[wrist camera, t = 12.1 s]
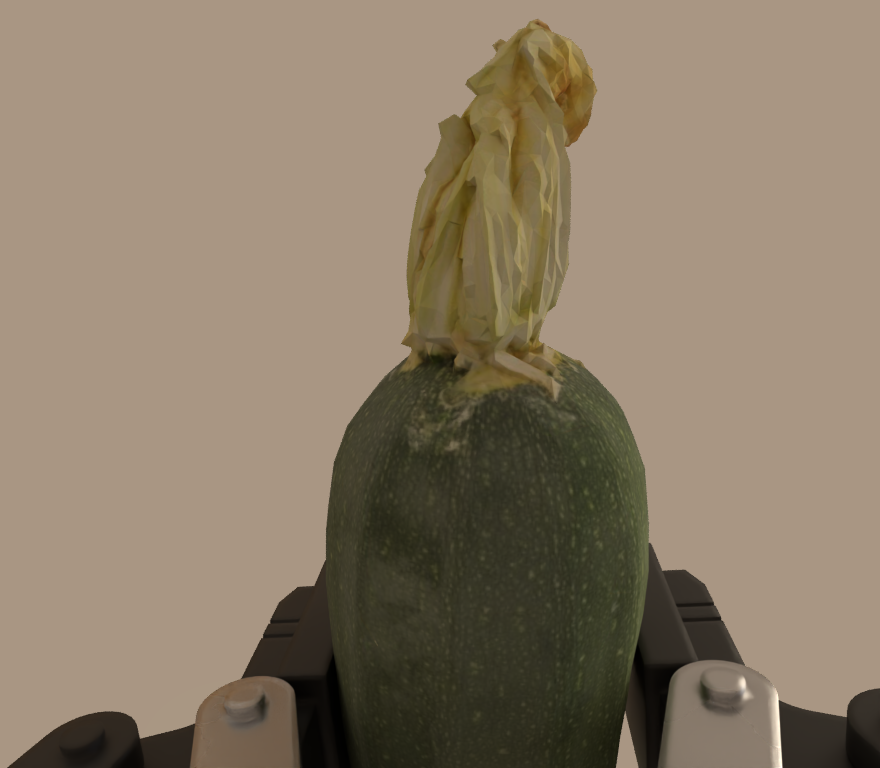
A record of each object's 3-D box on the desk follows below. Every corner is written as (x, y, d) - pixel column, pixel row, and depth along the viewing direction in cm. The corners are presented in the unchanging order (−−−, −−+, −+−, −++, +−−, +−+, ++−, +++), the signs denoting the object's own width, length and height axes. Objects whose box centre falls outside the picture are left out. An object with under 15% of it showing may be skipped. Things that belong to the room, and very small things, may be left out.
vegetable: (429, 1449, 12) (226, -14, 7) (402, 1121, 16) (263, 61, 11) (711, 1372, 12) (716, -42, 7) (614, 1075, 17) (574, 39, 12)
